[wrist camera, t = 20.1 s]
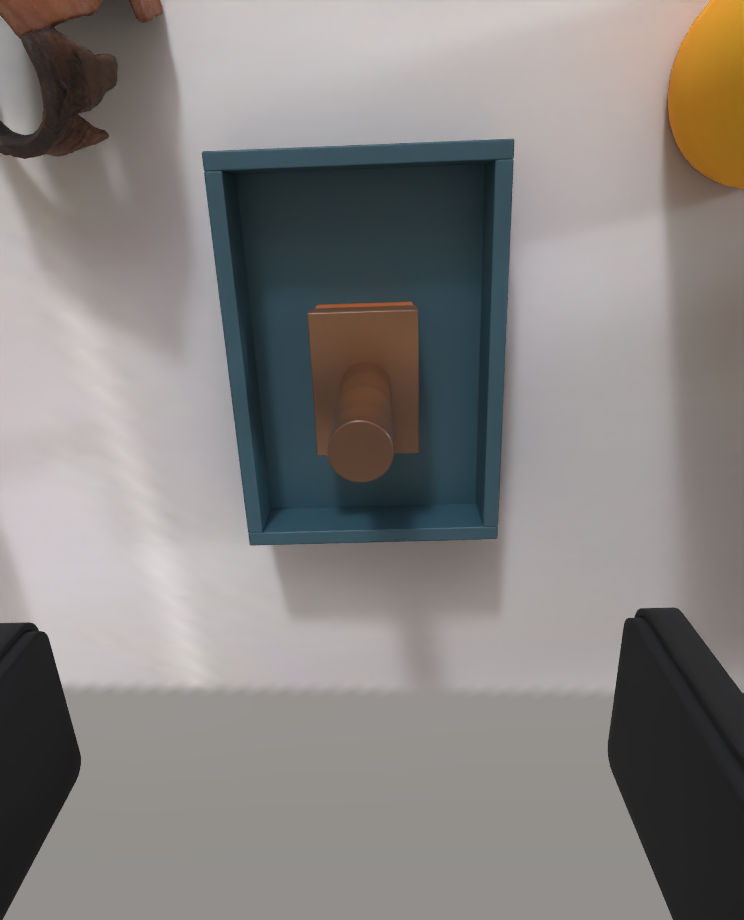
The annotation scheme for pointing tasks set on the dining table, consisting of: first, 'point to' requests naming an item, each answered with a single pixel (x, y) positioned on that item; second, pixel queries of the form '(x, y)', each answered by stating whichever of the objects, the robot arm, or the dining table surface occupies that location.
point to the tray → (365, 281)
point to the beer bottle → (711, 93)
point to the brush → (365, 385)
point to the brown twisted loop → (62, 74)
